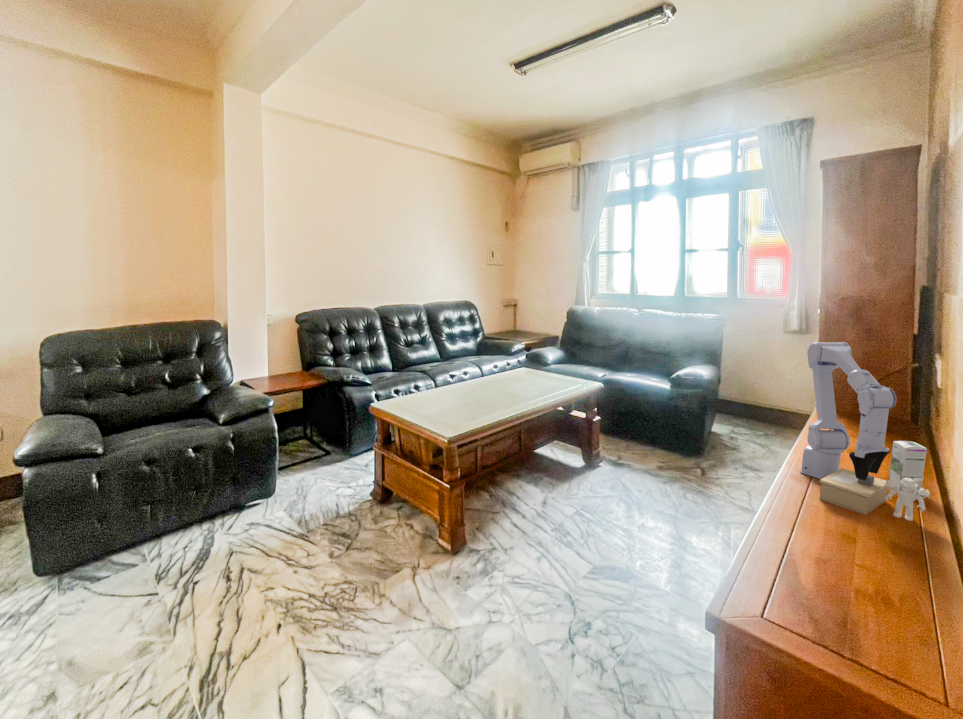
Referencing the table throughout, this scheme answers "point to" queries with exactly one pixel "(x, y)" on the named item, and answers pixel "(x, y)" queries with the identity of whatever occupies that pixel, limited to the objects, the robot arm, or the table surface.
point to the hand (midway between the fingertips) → (866, 475)
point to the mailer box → (852, 499)
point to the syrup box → (907, 462)
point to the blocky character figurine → (907, 496)
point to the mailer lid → (854, 483)
